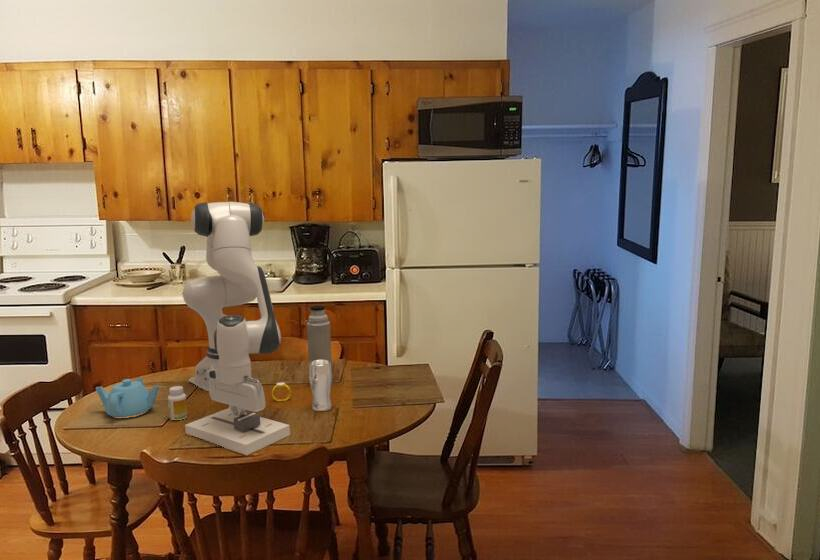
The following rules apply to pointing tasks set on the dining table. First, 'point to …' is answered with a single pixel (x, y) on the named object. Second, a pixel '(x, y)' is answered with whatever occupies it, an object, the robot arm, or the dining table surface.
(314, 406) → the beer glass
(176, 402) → the supplement bottle
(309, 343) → the thermos bottle
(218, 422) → the fader console
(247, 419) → the fader knob
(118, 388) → the teapot
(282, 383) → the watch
